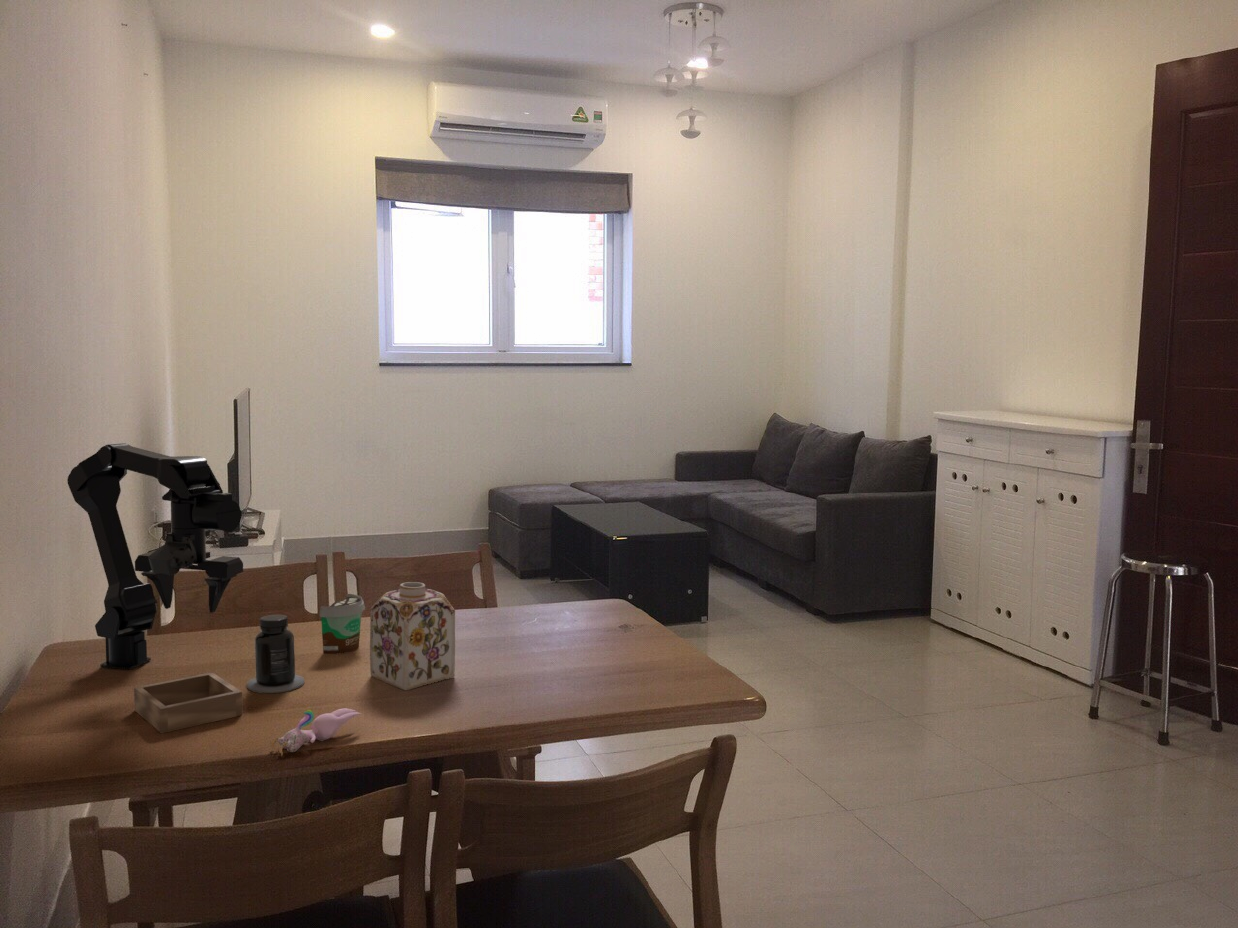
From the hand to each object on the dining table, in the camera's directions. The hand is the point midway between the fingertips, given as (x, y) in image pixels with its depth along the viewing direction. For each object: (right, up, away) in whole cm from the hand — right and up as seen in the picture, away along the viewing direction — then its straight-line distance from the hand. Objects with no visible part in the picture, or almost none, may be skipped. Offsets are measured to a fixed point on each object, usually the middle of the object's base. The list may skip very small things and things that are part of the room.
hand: (190, 610), depth 185 cm
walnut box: (+6, -15, -15) cm, 22 cm away
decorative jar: (+39, -14, +6) cm, 42 cm away
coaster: (+16, -14, 0) cm, 21 cm away
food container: (+23, -11, +23) cm, 34 cm away
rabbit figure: (+31, -17, -25) cm, 44 cm away
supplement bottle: (+16, -13, 0) cm, 20 cm away
